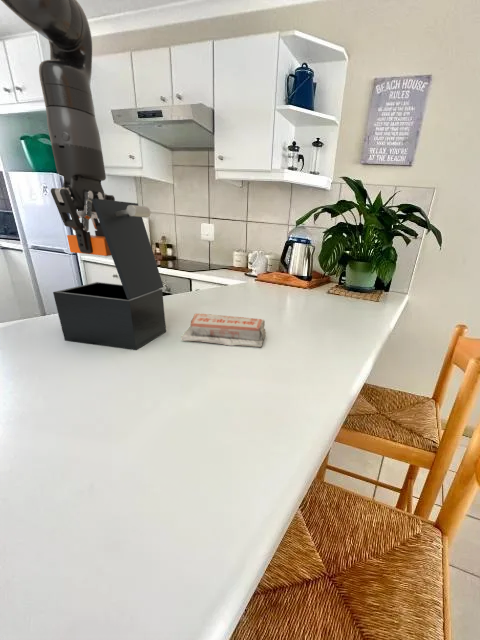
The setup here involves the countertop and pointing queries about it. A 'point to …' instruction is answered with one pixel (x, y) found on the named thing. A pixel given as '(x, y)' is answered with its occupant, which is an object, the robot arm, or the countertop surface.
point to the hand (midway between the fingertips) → (95, 251)
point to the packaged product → (225, 330)
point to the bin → (110, 315)
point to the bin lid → (129, 245)
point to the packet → (97, 244)
